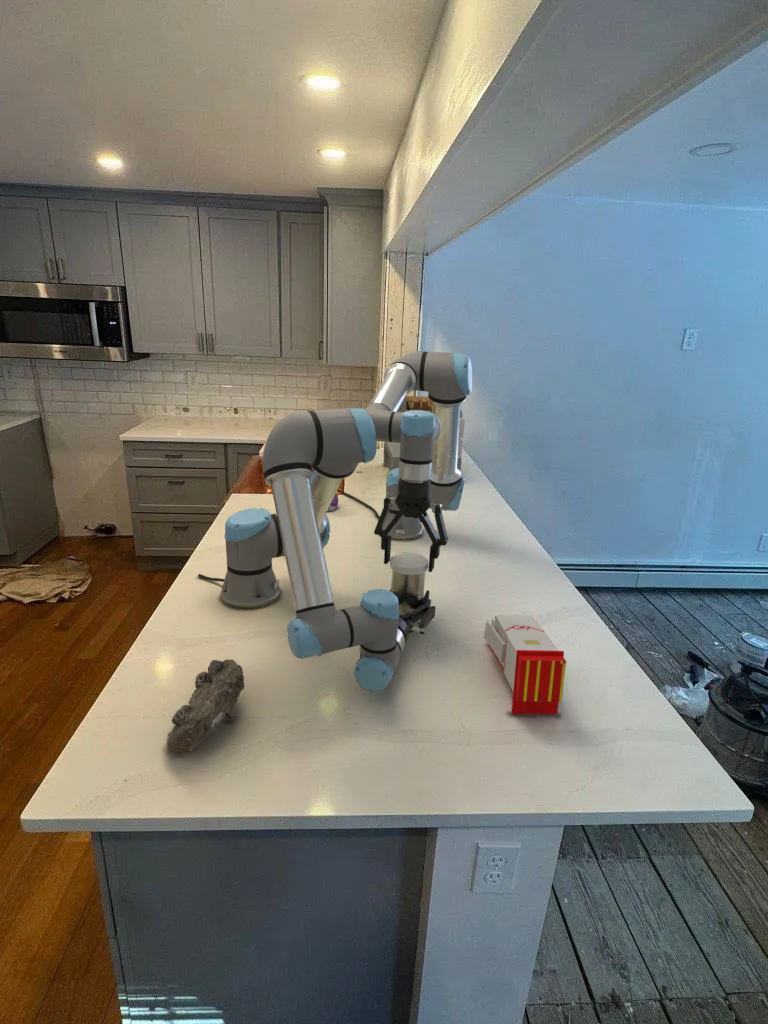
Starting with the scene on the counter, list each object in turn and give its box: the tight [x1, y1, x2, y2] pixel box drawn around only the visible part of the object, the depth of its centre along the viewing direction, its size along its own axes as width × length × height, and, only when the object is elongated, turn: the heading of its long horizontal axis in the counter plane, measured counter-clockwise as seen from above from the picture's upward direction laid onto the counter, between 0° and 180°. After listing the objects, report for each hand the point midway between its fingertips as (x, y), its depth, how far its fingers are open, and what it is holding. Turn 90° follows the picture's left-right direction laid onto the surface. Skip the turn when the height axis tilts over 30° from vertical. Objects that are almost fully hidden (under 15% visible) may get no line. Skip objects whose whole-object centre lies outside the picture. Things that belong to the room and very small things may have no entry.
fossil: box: [166, 658, 245, 754], centre depth 106 cm, size 22×10×15 cm
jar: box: [390, 569, 426, 625], centre depth 141 cm, size 8×8×17 cm
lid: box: [389, 551, 429, 575], centre depth 138 cm, size 9×9×2 cm
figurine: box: [327, 492, 339, 512], centre depth 219 cm, size 9×10×15 cm
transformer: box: [383, 394, 465, 472], centre depth 268 cm, size 34×33×41 cm
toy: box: [484, 614, 567, 716], centre depth 124 cm, size 12×13×30 cm
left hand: (410, 592), depth 146 cm, fingers closed on jar, 8 cm apart
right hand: (408, 565), depth 138 cm, fingers open, 10 cm apart
